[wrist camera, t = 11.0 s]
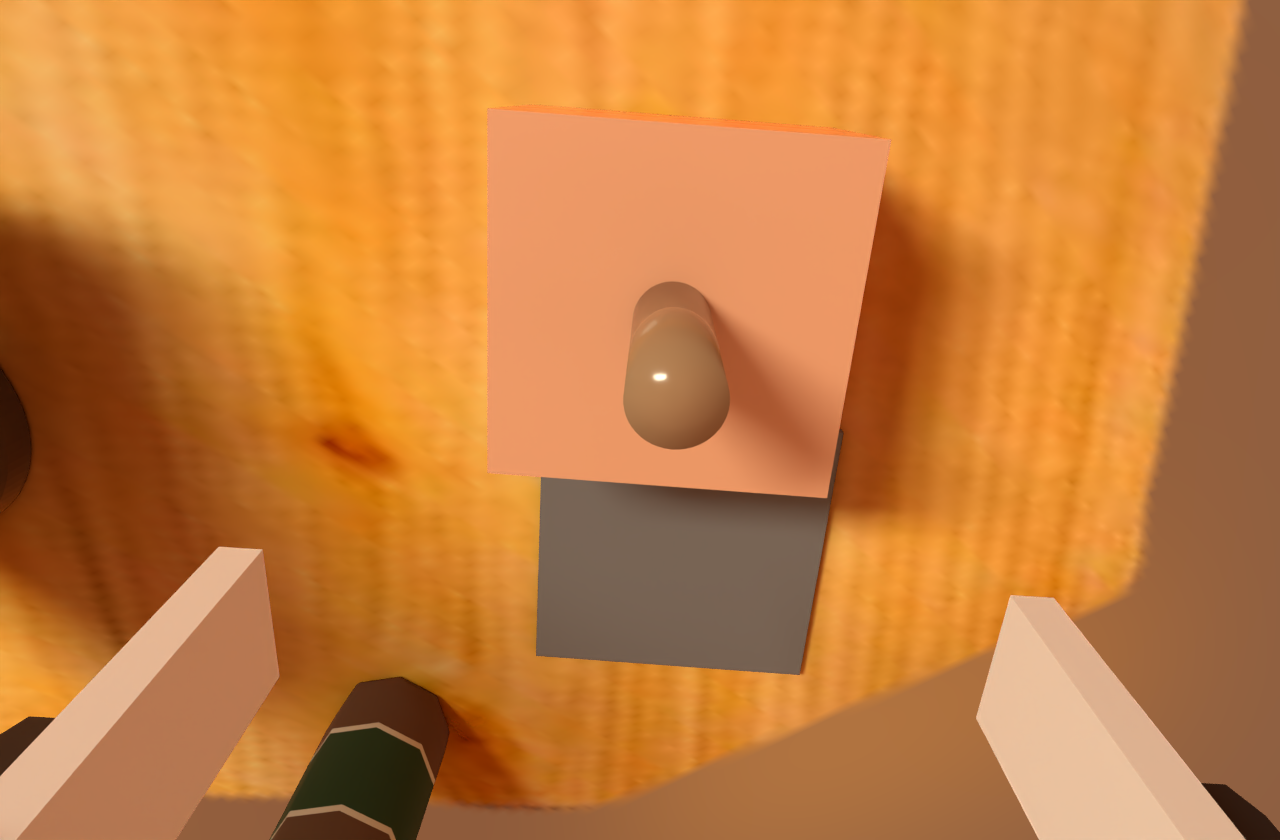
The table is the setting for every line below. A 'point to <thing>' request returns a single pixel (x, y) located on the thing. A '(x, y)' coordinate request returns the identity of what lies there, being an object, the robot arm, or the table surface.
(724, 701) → the table surface
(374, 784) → the beer bottle
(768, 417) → the pink box with peg
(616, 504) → the mat
